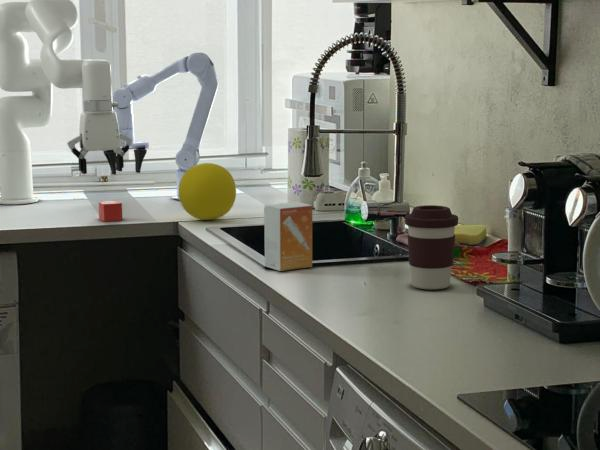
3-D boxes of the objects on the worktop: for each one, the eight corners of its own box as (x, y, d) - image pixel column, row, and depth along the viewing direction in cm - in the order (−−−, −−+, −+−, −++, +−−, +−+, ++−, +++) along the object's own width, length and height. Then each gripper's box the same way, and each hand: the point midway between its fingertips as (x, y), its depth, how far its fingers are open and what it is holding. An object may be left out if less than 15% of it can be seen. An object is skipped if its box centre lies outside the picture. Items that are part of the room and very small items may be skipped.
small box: (280, 271, 212) (279, 208, 209) (264, 266, 217) (263, 204, 215) (313, 267, 216) (313, 204, 214) (296, 262, 221) (296, 201, 219)
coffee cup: (400, 280, 202) (400, 204, 200) (450, 279, 203) (451, 203, 201) (409, 292, 193) (410, 212, 190) (462, 291, 193) (463, 211, 191)
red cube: (122, 220, 279) (121, 203, 278) (104, 221, 277) (103, 204, 276) (117, 217, 283) (116, 200, 283) (99, 219, 281) (98, 202, 280)
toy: (226, 213, 288) (225, 159, 285) (243, 221, 274) (242, 164, 271) (173, 217, 282) (171, 161, 280) (187, 225, 268) (186, 167, 266)
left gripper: (125, 105, 282) (128, 169, 284) (62, 108, 274) (65, 173, 276) (134, 106, 275) (137, 171, 278) (69, 109, 267) (73, 175, 270)
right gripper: (142, 126, 322) (143, 170, 324) (96, 128, 315) (98, 173, 317) (150, 128, 316) (152, 172, 318) (104, 130, 309) (106, 176, 311)
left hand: (101, 172), depth 277 cm, fingers open, 9 cm apart
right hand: (126, 173), depth 317 cm, fingers open, 7 cm apart
